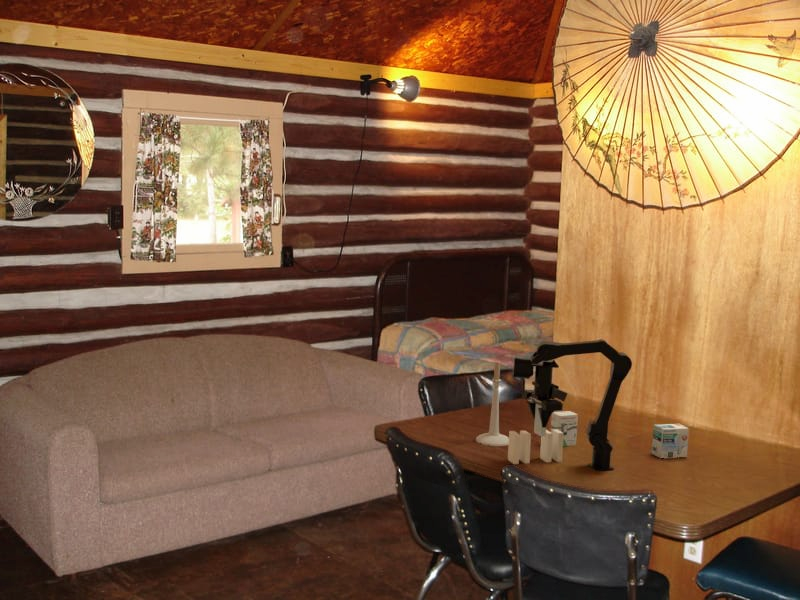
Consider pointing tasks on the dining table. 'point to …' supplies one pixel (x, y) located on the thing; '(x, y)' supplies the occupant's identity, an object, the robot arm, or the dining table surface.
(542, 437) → the domino
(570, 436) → the ink box
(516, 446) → the domino
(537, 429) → the domino
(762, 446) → the dining table surface
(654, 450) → the light bulb box
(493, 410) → the candlestick
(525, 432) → the domino
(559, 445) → the domino
